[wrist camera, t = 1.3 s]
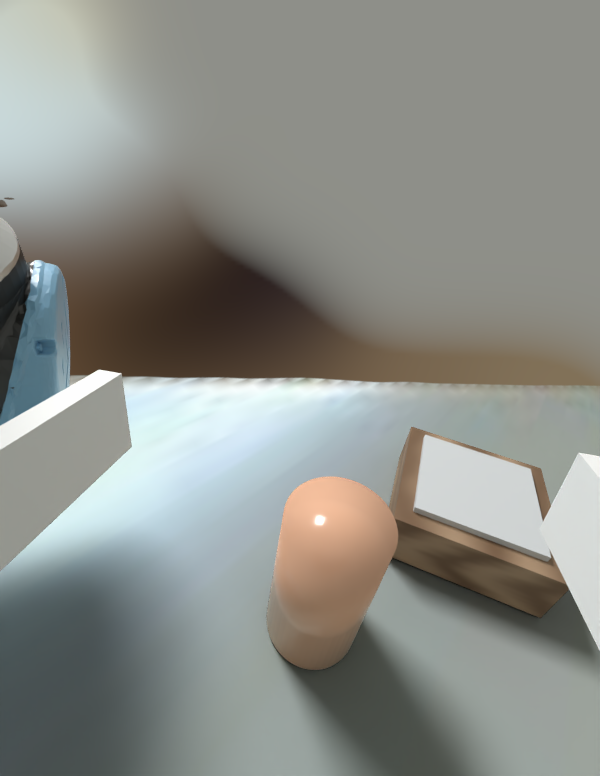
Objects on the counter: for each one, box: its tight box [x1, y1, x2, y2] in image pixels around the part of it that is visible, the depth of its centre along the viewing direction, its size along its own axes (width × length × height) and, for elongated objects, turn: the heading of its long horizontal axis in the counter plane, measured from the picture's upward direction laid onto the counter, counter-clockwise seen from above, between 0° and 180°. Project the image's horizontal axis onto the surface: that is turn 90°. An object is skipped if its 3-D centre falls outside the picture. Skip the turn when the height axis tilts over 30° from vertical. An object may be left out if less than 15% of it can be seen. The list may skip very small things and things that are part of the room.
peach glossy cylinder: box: [267, 477, 398, 670], centre depth 26 cm, size 7×7×12 cm
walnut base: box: [389, 427, 569, 618], centre depth 37 cm, size 14×14×6 cm
